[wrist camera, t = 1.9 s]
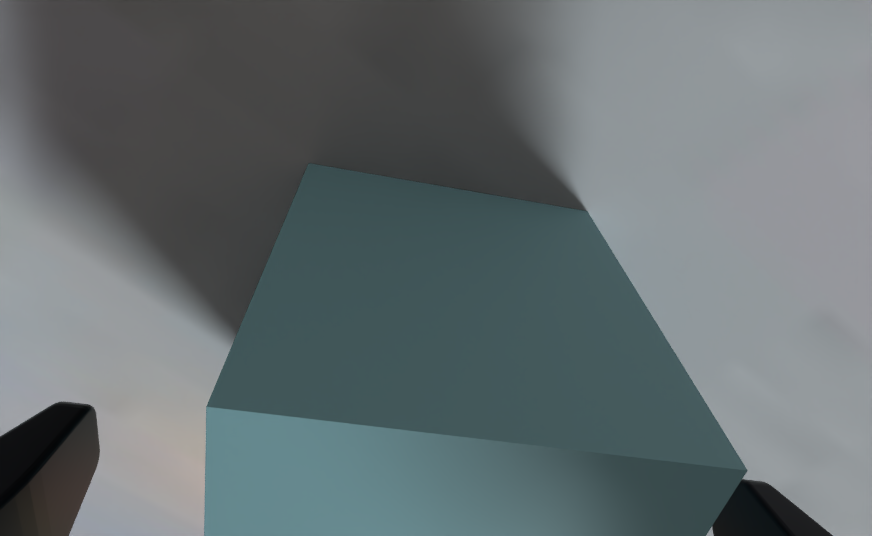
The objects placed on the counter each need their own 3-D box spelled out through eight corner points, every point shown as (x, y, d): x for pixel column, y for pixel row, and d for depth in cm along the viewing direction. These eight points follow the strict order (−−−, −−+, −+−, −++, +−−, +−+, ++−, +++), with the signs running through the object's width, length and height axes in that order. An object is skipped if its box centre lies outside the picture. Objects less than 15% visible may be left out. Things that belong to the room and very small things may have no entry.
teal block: (515, 413, 13) (583, 727, 8) (286, 385, 13) (200, 706, 7) (587, 210, 11) (748, 470, 6) (308, 162, 10) (205, 406, 5)
